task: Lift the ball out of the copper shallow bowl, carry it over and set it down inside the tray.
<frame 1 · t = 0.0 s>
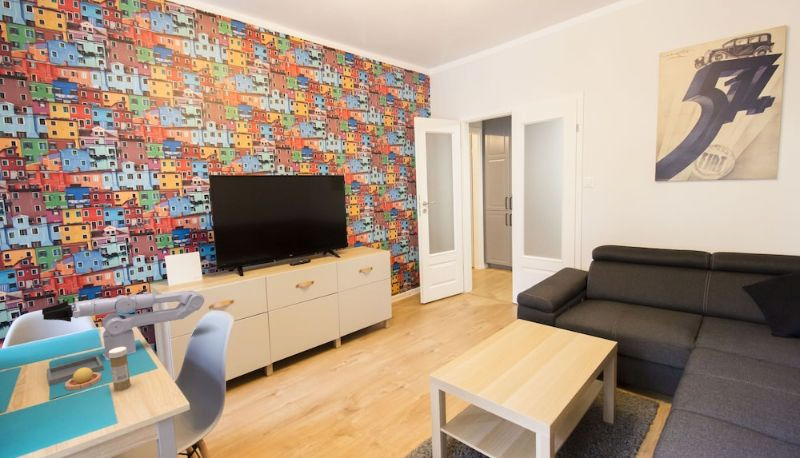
hand: (42, 314, 129), 22 cm above the table, tool horizontal, fingers open, 7 cm apart
sprinkles bottle: (122, 389, 119), on the table
tray: (75, 373, 131), on the table
copper shallow bowl: (84, 383, 123), on the table
ball: (83, 382, 123), resting on copper shallow bowl
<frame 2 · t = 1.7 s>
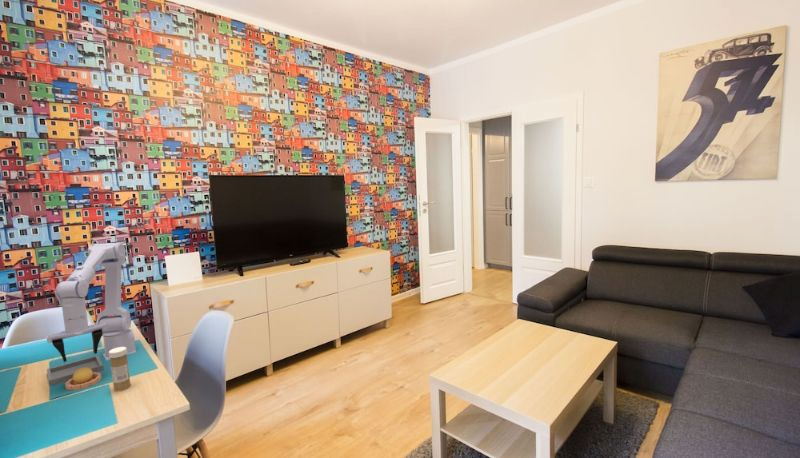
hand: (80, 356, 122), 9 cm above the table, tool pointing down, fingers open, 7 cm apart
nothing on the table moved.
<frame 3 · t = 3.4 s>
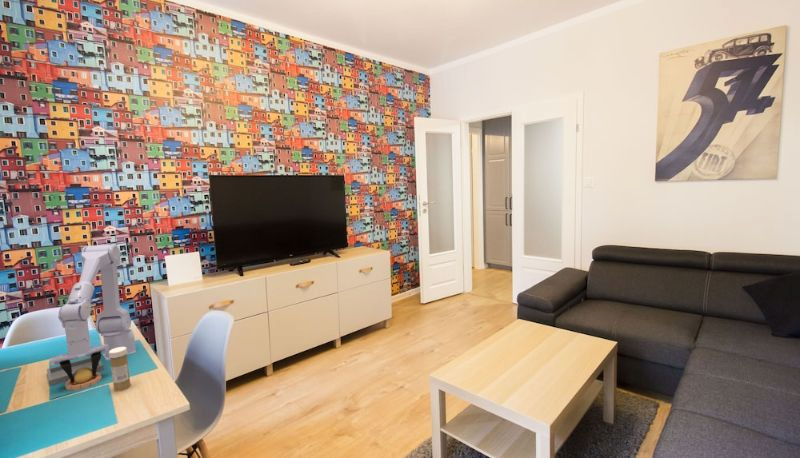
hand: (83, 378, 123), 2 cm above the table, tool pointing down, fingers closed on ball, 5 cm apart
ball: (83, 382, 123), resting on copper shallow bowl, touching gripper
everything else where it was.
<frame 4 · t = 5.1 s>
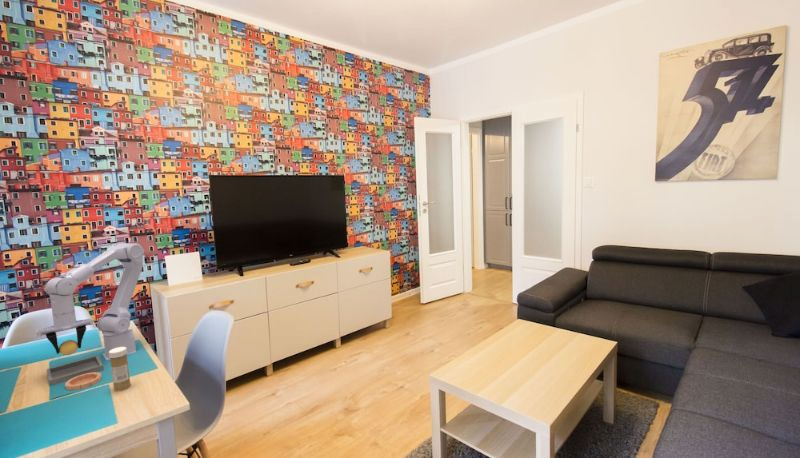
hand: (68, 350, 129), 9 cm above the table, tool pointing down, fingers closed on ball, 5 cm apart
ball: (69, 354, 129), point 7 cm above the table, touching gripper
everything else where it was.
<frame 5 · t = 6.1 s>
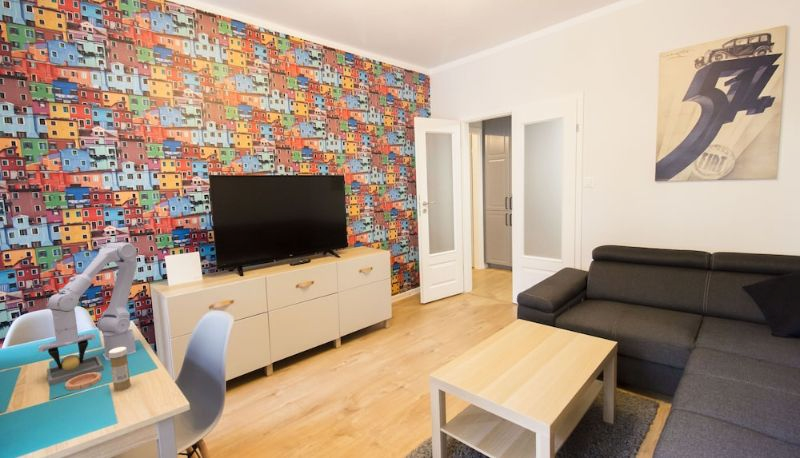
hand: (70, 365, 129), 3 cm above the table, tool pointing down, fingers closed on ball, 5 cm apart
ball: (71, 369, 130), point 2 cm above the table, touching gripper
everything else where it was.
when the fingers open (3 cm above the table, at t = 7.0 s): ball drops 1 cm, resting on tray.
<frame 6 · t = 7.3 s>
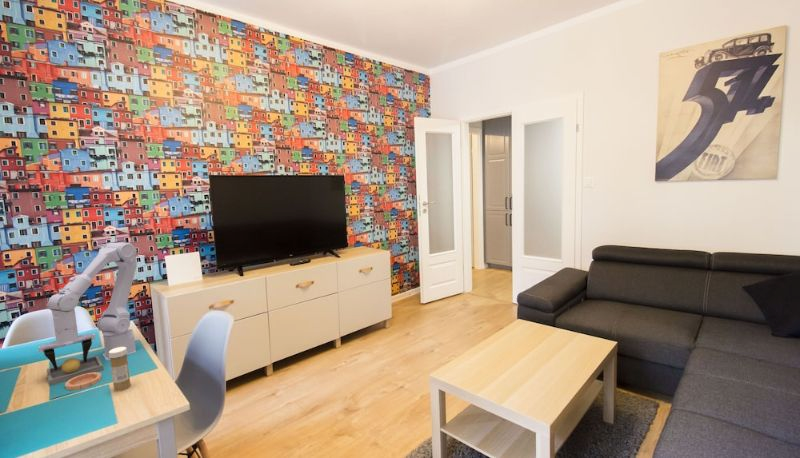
hand: (70, 365, 130), 3 cm above the table, tool pointing down, fingers open, 7 cm apart
ball: (71, 372, 130), point 1 cm above the table, touching tray
everything else where it was.
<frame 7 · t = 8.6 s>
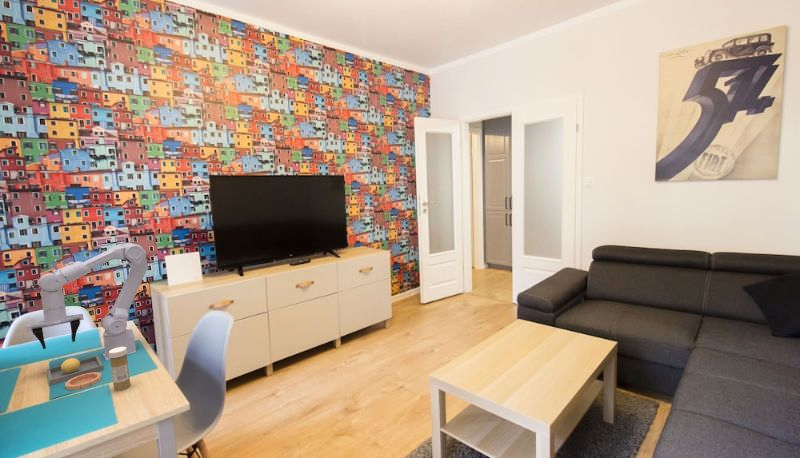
hand: (59, 344, 131), 10 cm above the table, tool pointing down, fingers open, 7 cm apart
nothing on the table moved.
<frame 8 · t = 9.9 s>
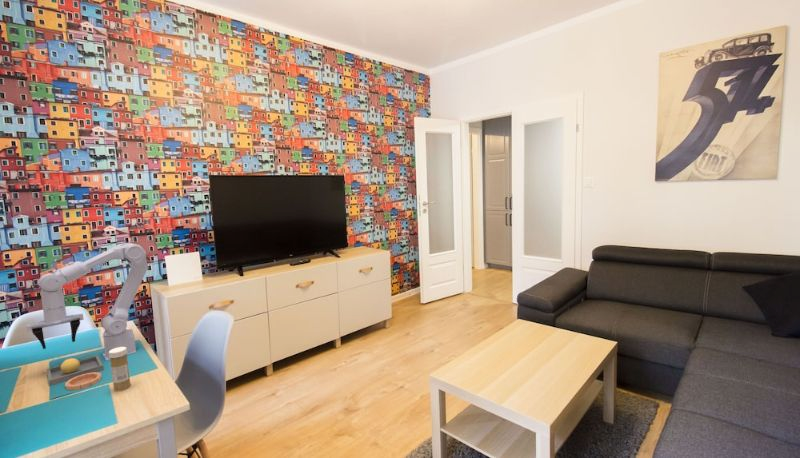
hand: (59, 344, 131), 10 cm above the table, tool pointing down, fingers open, 7 cm apart
nothing on the table moved.
at the end: ball inside the target area on the tray (1.0 cm from its centre), point 0.8 cm above the tray's base; the gripper is holding nothing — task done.
